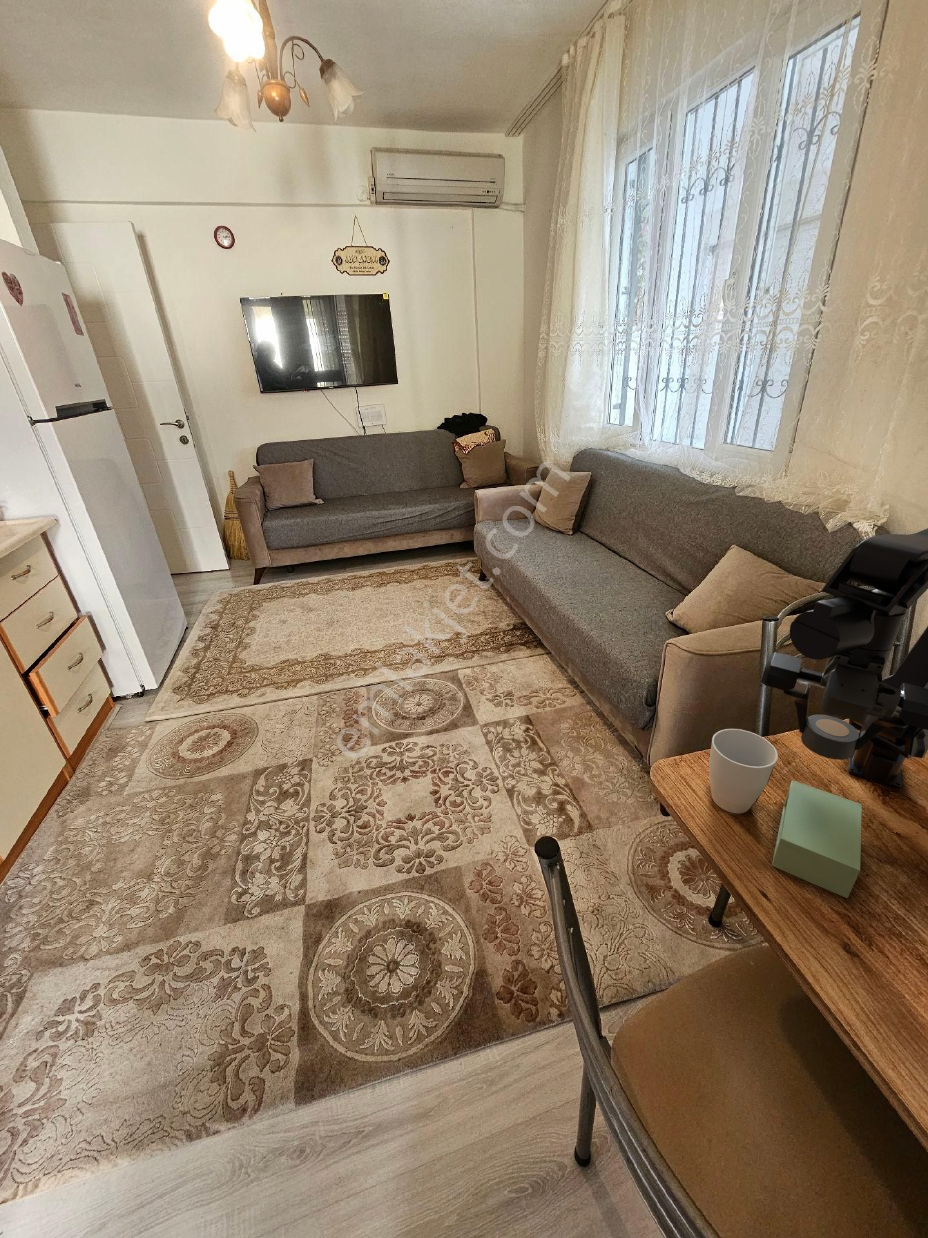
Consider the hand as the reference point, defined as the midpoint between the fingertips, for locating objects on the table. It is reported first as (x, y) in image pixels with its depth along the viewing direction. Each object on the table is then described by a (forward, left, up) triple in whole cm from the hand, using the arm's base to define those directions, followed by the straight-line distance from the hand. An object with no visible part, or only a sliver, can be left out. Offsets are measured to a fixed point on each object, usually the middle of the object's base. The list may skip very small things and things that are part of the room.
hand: (827, 739), depth 69 cm
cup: (+6, -9, -11) cm, 16 cm away
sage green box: (+9, +1, -11) cm, 15 cm away
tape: (0, 0, -1) cm, 1 cm away
